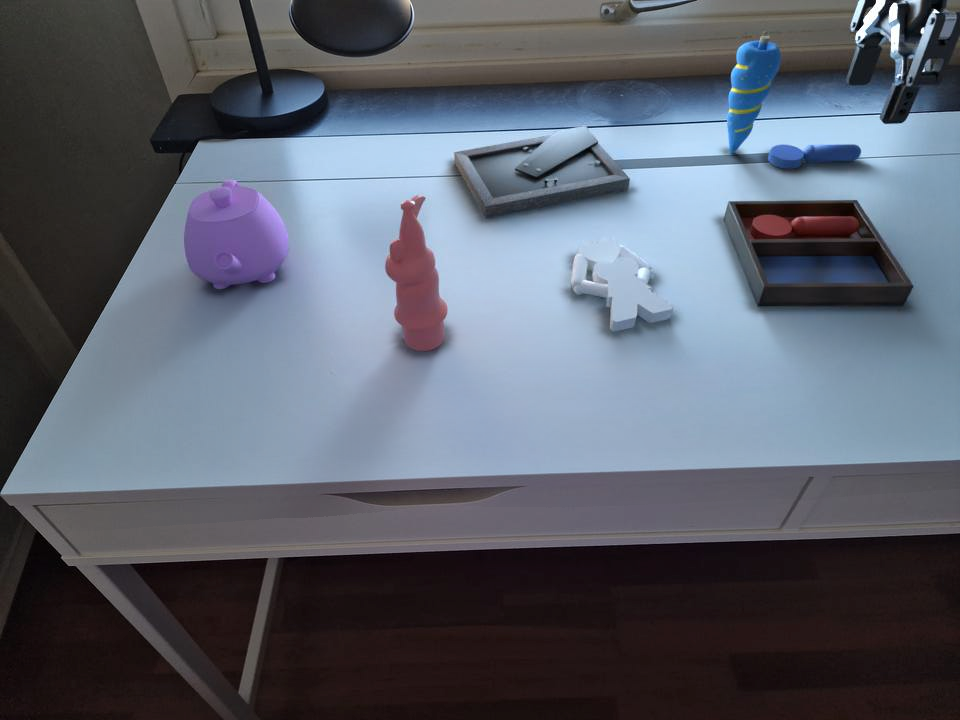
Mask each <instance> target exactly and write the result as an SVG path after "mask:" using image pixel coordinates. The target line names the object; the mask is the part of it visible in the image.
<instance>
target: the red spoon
mask: <svg viewBox="0 0 960 720" xmlns="http://www.w3.org/2000/svg"><path fill="white" fill-rule="evenodd" d="M858 227H859V223H858V221H857V219H856V218H854V217H851V216H821V217H797V218H795V219H794V220H793V221H792V222H791V224H790V223H789V222H788V221H787V220H786V219H784V218H782V217H779V216H776V215H760V216H758V217H756V218H755V219H754V220H753V223H752V226H751V229H750V233H751V235H752V237H753V238H754V239H789V236H790V233H791V231H792V233H793V234H795V235H798V236H824V235H852V234H854V233H855V232H856V231H857V229H858Z"/></svg>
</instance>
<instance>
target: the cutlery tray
mask: <svg viewBox="0 0 960 720" xmlns="http://www.w3.org/2000/svg"><path fill="white" fill-rule="evenodd" d="M760 215H776V216H779V217H782V218H784V219H786V220H787V221H788V222H789V223H790V224H791V222H792V221H793V220H794V219H795V218H797V217H821V216H851V217H854V218H856V219H857V221H858V223H859V227H858V229H857V231H856V232H855V233H854V234H852V235H824V236H798V235H795V234H793V233H792V231H791V233H790V236H789V239H754V238H753V237H752V235H751V233H750V229H751V226H752V223H753V220H754V219H755V218H756V217H758V216H760ZM723 223H724V225H725V228H726V230H727V232H728V235H729V238H730V240H731V243H732V245H733V248H734V250H735V253H736V255H737V258H738V261H739V263H740V266H741V269H742V271H743V274H744V276H745V278H746V281H747V284H748V286H749V289H750V291H751V294H752V297H753V299H754V301H755V304H756V307H758V308H760V307H763V308H764V307H765V308H766V307H767V308H769V307H772V308H773V307H774V308H775V307H780V308H781V307H784V308H785V307H903V306H905V303H906V302H907V300H908V298H909V296H910V294H911V292H912V290H913V289H914V287H915V286H914V284H913V282H912V281H911V279H910V278H909V276H908V275H907V274H906V272H905V271H904V269H903V267H902V266H901V264H900V263H899V261H898V260H897V258H896V257H895V255H894V254H893V252H892V250H891V249H890V248H889V246H888V245H887V243H886V242H885V240H884V238H883V237H882V235H881V234H880V233H879V231H878V229H877V228H876V227H875V225H874V223H873V222H872V221H871V219H870V217H869V216H868V215H867V213H866V212H865V210H864V208H863V207H862V205H861V203H860V202H859V201H858V200H857V199H818V200H816V199H815V200H814V199H813V200H811V199H810V200H805V199H804V200H729V201H728V202H727V205H726V209H725V213H724V216H723Z"/></svg>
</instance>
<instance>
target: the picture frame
mask: <svg viewBox="0 0 960 720" xmlns="http://www.w3.org/2000/svg"><path fill="white" fill-rule="evenodd" d="M453 155H454V156H453V157H454V165H455V166H456V168H457V170H458V172H459V173H460V175H461V177H462V179H463V180H464V182H465V184H466V186H467V187H468V189H469V191H470V193H471V195H472V196H473V198H474V200H475V201H476V202H475V203H476V204H477V206H478V207H479V208H480V211H481V212H482V214H483V215H484V217H485V219H489V218H495V217H499V216H504V215H509V214H515V213H520V212H524V211H529V210H534V209H540V208H545V207H549V206H554V205H559V204H564V203H569V202H575V201H579V200H583V199H589V198H594V197H595V198H596V197H600V196H605V195H609V194H615V193H620V192H624V191H628V190H629V187H630V180H631V178H630V177H629V176H628V175H627V173H626V172H625V171H624V170H623V169H622V168H621V167H620V166H619V164H617V162H616V161H615V160H614V159H613V158H612V157H611V155H610V154H609V153H608V152H607V151H606V150H605V149H604V148H603V147H602V146H601V144H599V140H598V139H597V138H596V136H594V135H593V133H592V132H591V131H590V129H589V128H588V127H587V126H586V125H582V126H577V127H571V128H565V129H560V130H555V131H554V132H553V133H552V134H549V135H544V136H536V137H531V138H527V139H521V140H515V141H509V142H503V143H498V144H492V145H487V146H481V147H476V148H470V149H464V150H459V151H454V152H453Z"/></svg>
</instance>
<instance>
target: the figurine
mask: <svg viewBox="0 0 960 720" xmlns="http://www.w3.org/2000/svg"><path fill="white" fill-rule="evenodd" d="M426 199H427V198H426V197H425V196H423V195H419V194H418V195H415V196H413V197H411V198H410V199H409V200H408V199H406V200H404V201H402V202H401V203H400V209H401V210H402V216H401V220H400V226H399V232H398V238H397V239H394V240H392V241H390V244H389V253H388V255H387V256H386V259H385V263H384V271H385V273H386V275H387V277H388V278H389V279H390V280H391V281H393V282H394V283H396V284H395V299H396V305H395V306H394V307H395V308H394V309H393V317H394V319H395V321H396V322H397V324H399V325H400V326H401V331H402V337H403V342H404V344H405V345H406V346H407V347H408V348H409V349H411V350H413V351H416V352H429V351H432V350H435V349H437V348H439V347H440V346H441V345H442V344H443V343H444V341H445V338H446V334H445V323H444V320H445V319H446V317H447V316H448V311H449V309H448V305H447V303H446V302H445V300H443V298H441V296H440V276H439V272H438V269H437V268H436V257H435V254H434V252H433V251H432V249H430V248H429V247H428V246H427V243H426V237H425V233H424V229H423V227H422V224H421V222H420V221H419V220H418V217H419V213H420V211H421V209H422V206H423V204H424V202H426Z"/></svg>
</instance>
